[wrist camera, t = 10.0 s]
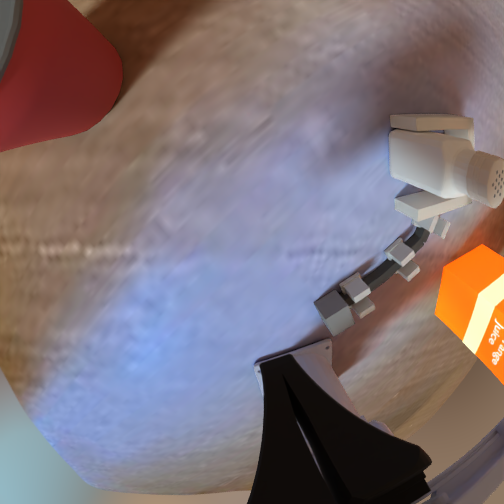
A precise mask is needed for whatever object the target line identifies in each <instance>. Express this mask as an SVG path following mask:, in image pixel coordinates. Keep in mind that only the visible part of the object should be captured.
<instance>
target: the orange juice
mask: <svg viewBox="0 0 504 504" xmlns="http://www.w3.org/2000/svg"><path fill="white" fill-rule="evenodd" d="M435 315H436V316H437V317H439V318H440V319H441V320H442V321H443V322H444V323H445V324H446V325H447V326H448V327H449V328H450V329H451V330H452V331H453V332H454V333H455V334H456V335H457V336H458V337H459V338H460V339H461V340H462V342H463V343H464V344H465V345H466V346H467V347H468V348H469V349H470V350H471V351H472V352H473V353H474V354H476V355H477V356H478V357H479V358H480V360H481V361H483V363H484V364H485V365H486V366H487V367H488V368H489V369H490V370H491V371H492V372H493V374H494V375H495V376H496V377H497V378H498V379H499V380H500V381H501V382H502V384H503V385H504V258H503V257H502V256H500V255H499V254H497V253H495V252H494V251H492V250H491V249H489V248H488V247H486V246H484V245H483V244H482V245H480V246H478V247H477V248H475V249H473V250H472V251H470V252H468V253H467V254H465V255H463V256H462V257H460V258H458V259H456V260H455V261H453V262H451V263H449V264H448V265H446V266H444V268H443V275H442V280H441V286H440V291H439V296H438V301H437V306H436V310H435Z"/></svg>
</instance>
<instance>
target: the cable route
mask: <svg viewBox="0 0 504 504" xmlns="http://www.w3.org/2000/svg"><path fill="white" fill-rule="evenodd" d="M429 234H430V231H428V230H426V229H424V228H423V227H420V228H419V227H417V229H416V231H415V233H414V235H413V236H412V237H411V238H410V239H409V240H408V241H407V242H405V243H404V244H405V245H407V246H408V247H410V248H411V249H412V250H414V253H416V252H417V251H418V250H419V249H420V248H421V247H422V246H423V245H424V243H423V242H425V243H426V241H427V238H428V236H429ZM401 267H402V266H401V265H399V264H398V263H397V262H396V261H394V260H393V259H392V260H391V261H390V260H388V259H387V260H386V261H385V262H384V263H383V264H382V265H381V266H379V267H378V268H377V269H376V270H375V271H374V272H372V273H371V274H369V275H368V276H366V277H365V278H363V279H362V281H363V282H364V283H365V284H366V285H367V286H368V287H369V288H370V291H371V292H372V291H373V290H375V289H376V288H377V287H379V286H380V285H382V283H384V282H385V281H386V280H388V279H389V278H390V277H391V276H392V275H393V274H394V273H395V272H396V271H397V270H398V269H400V268H401ZM354 303H355V302H354V301H353V300H352V299H351V298H350V296H349V295H348V294H347V293H346V294H345V295H344V294H343V293H341V294H338V292H337V291H336V290H333V291H332V292H330V293H329V294H327V295H325V296H324V297H322V298H321V299H319V300H317V301H316V302H314V305H315V306H316V308H317V310H318V312H319V314H320V316H321V318H322V320H323V322H324V323H325V325H326V326H327V328H328V329H329V331H330V332H331V334H332V335H333V337H335V336H336V335H338V334H340V333H341V332H343V331H344V330H346V329H347V328H349V327H351V326H352V325H354V324H355V322H354V320H353V317H352V314H351V311H350V309H349V306H351V305H352V304H354Z"/></svg>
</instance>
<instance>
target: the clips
mask: <svg viewBox="0 0 504 504" xmlns="http://www.w3.org/2000/svg"><path fill="white" fill-rule="evenodd" d="M411 224H413V225H415V226H417V227H419V228H420V227H423V228H424V229H426V230H428V231H430V233H435V234H436V235H438V236H440V237H442V238H443V239H444V238H445V235H446V233H447V231H448V228H449V226H450V224H451V223H449V222H448V221H446V220H444V219H442V218H440V217H439V215H436V216H433V217H430V218H428V219H425V220H422V221H419V222H417V221H415V220H412V222H411ZM384 252H385V254H386V256H387V258H388V260H390V261H391V260H392V259H393V260H394V261H396V262H397V263H398V264H399V265H401V266H402V267H401V268H400V269H398V270H397V271H396V272H395V274H396V275H397V274H398V273H399V274H400V275H401V276H402V277H403V278H405V279H406V280H407V281H408V282H409V281H410V280H411V279H412V278H413V277H414V276H415V275H416V274H417V273H418V272H419V271H420V268H419V266H418V265H417V264H416V263H414V262H413V261H412V260H411V259H412V258H413V257H414V256H415V253H414V250H412V249H411V248H410V247H408V246H407V245H405V244H404V243H403V240H402V239H401V238H400V237H399V238H398V239H397V240H396V241H395V242H394V243H393V244H391V245H390V246H389V247H388V248H387V249H386V250H385V251H384ZM339 285H340V288H341V290H342V293H343V294H344V295H345V294H346V293H347V294H348V295H349V296H350V298H351V299H352V300H353V301H354V302H355V303H354V304H352V305H351V306H349V309H351V308H352V309H353V310H354V311H355V312H356V313H357V315H358V316H359V317H360V318H363V317H364V316H366V315H367V314H369V313H370V312H372V311H373V310H375V305H374V303H373V302H372V301H371V300H370V299H369V298H368V297H367V295H369V294H370V293H371V291H370V288H369V287H368V286H367V285H366V284H365V283H364V282H363V281H362V279H361V276H360V274H359V273H358V272H357V273H355V274H354V275H352V276H351V277H349V278H348V279H346V280H344V281H343V282H341V283H340V284H339Z"/></svg>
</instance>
